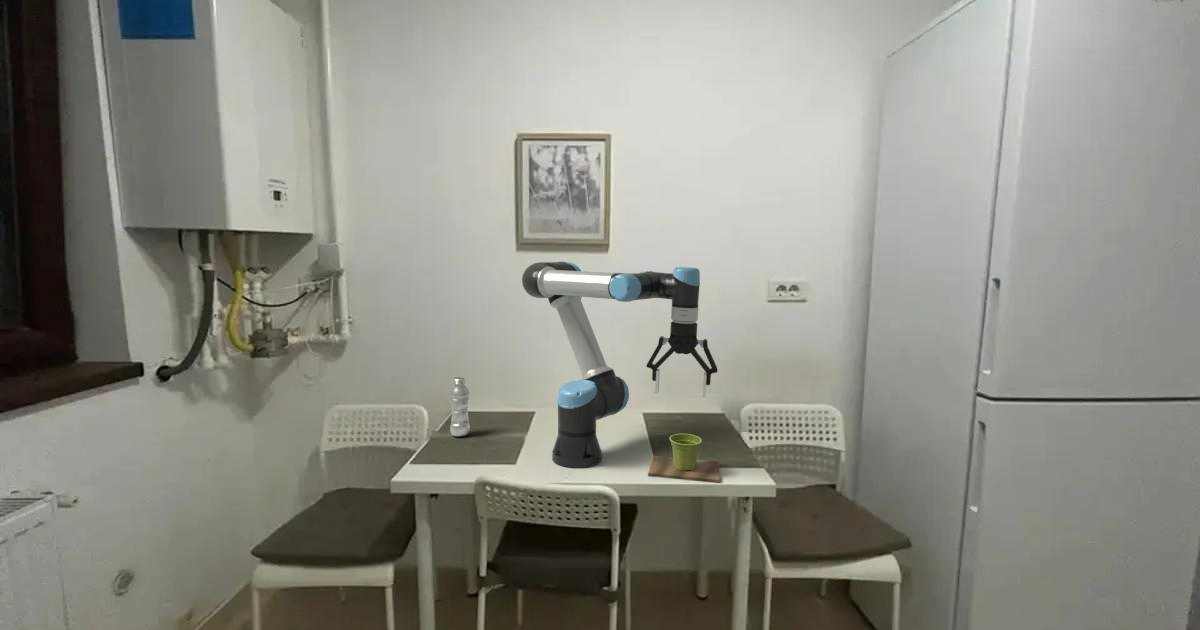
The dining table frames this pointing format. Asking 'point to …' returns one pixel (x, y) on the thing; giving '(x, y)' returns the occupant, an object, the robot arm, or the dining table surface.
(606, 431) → the dining table surface
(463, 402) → the plastic bottle
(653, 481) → the dining table surface
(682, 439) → the plant pot
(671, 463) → the walnut board
